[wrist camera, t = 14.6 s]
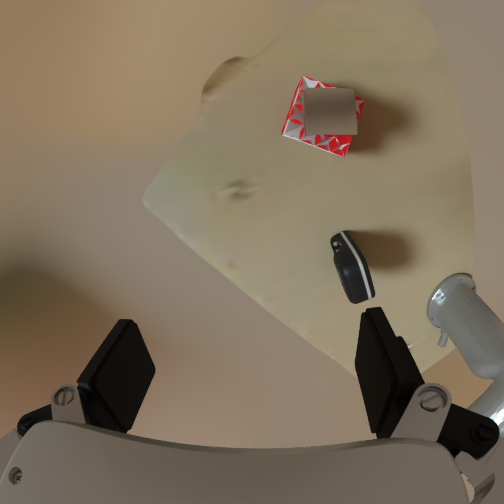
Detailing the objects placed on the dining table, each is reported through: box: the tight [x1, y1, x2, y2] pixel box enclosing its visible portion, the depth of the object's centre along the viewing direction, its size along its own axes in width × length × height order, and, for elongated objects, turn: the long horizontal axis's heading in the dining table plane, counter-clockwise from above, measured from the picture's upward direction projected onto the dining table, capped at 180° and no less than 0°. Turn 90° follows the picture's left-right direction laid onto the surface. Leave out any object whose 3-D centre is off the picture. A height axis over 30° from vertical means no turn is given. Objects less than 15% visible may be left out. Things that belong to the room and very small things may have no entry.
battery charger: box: [331, 231, 375, 304], centre depth 39 cm, size 7×4×11 cm, turn 25°
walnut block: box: [301, 88, 358, 135], centre depth 27 cm, size 5×5×5 cm
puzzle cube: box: [281, 76, 365, 158], centre depth 33 cm, size 8×8×8 cm
